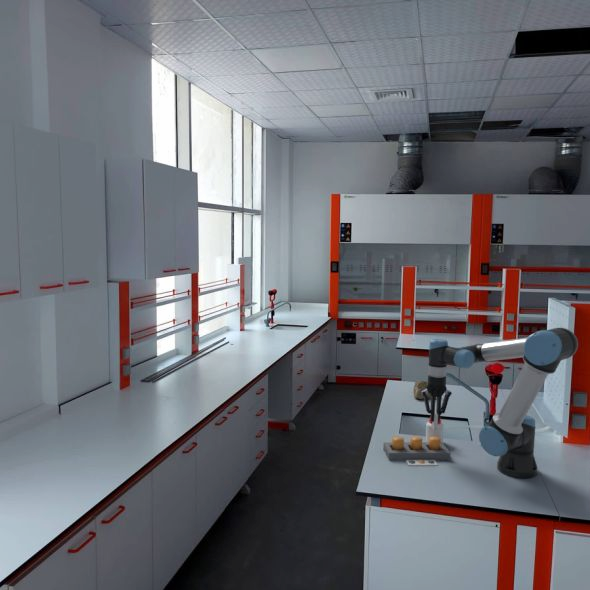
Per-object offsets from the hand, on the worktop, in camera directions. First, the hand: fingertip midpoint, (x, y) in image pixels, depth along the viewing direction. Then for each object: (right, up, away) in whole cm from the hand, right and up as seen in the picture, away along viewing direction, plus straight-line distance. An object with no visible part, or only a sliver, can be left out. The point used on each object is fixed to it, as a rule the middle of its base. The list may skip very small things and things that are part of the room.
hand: (434, 428), depth 240 cm
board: (-8, -11, +1) cm, 14 cm away
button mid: (-8, -9, 0) cm, 12 cm away
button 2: (0, -9, +1) cm, 9 cm away
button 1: (-16, -9, 0) cm, 18 cm away
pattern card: (-8, -12, -9) cm, 17 cm away
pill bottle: (+4, -10, +15) cm, 19 cm away
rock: (+15, -3, +85) cm, 86 cm away
